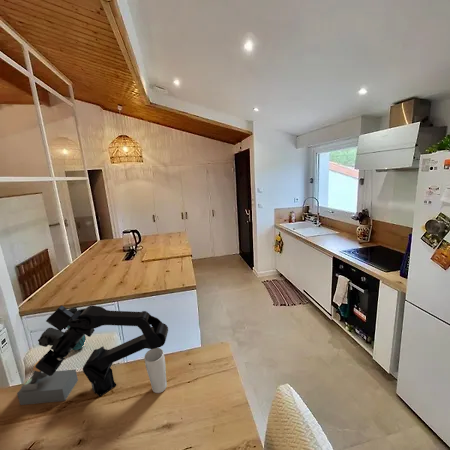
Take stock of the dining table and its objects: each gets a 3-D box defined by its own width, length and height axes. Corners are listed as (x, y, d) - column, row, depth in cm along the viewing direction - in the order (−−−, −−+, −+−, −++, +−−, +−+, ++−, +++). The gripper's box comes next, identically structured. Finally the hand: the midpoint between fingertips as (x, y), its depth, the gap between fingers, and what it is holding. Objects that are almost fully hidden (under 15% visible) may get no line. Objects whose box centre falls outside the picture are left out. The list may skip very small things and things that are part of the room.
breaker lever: (41, 378, 94) (46, 360, 92) (35, 385, 90) (40, 367, 89) (34, 376, 93) (40, 358, 92) (28, 383, 90) (34, 365, 89)
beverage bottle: (69, 354, 113) (61, 314, 108) (73, 345, 119) (65, 307, 115) (85, 351, 114) (77, 311, 110) (88, 342, 121) (81, 304, 116)
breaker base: (78, 380, 98) (75, 366, 97) (65, 400, 89) (61, 385, 88) (37, 384, 97) (33, 369, 96) (20, 405, 88) (16, 389, 87)
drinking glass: (172, 384, 93) (167, 351, 89) (159, 399, 88) (153, 365, 84) (160, 376, 97) (154, 344, 93) (146, 390, 91) (139, 357, 87)
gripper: (68, 308, 97) (44, 336, 98) (35, 340, 78) (7, 373, 80) (92, 325, 99) (68, 352, 100) (65, 359, 80) (37, 391, 82)
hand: (47, 365), depth 91 cm, fingers closed
